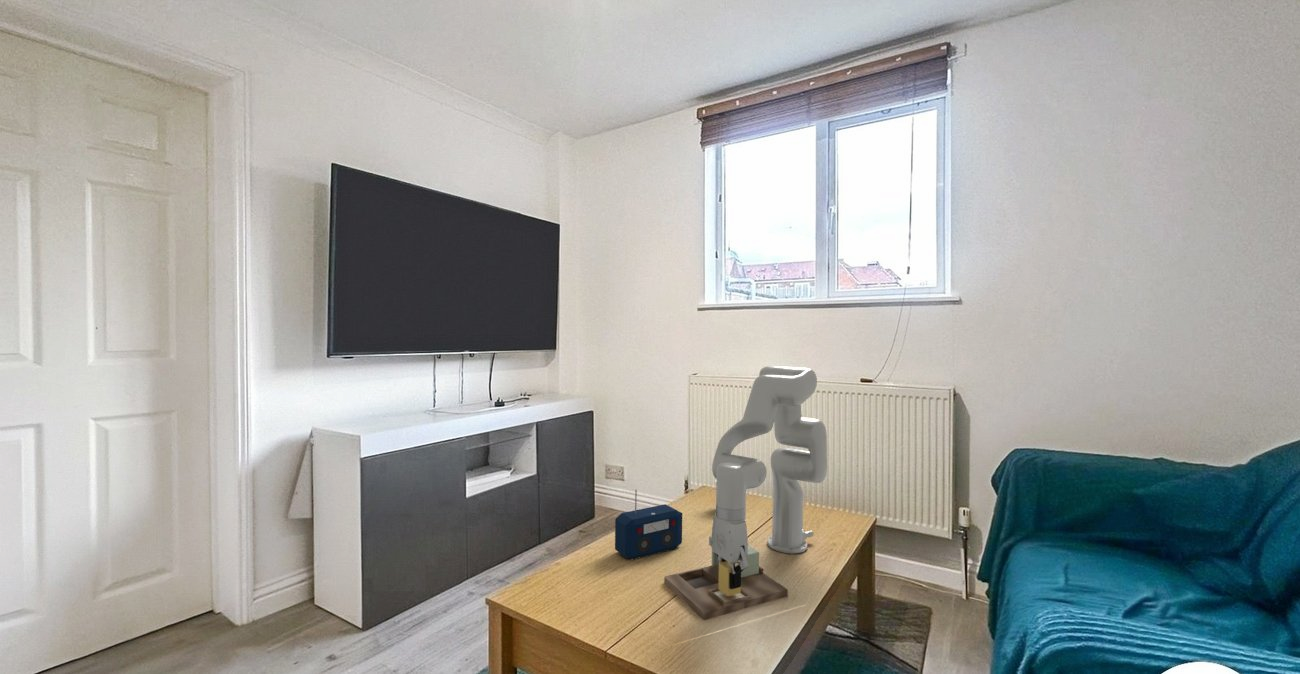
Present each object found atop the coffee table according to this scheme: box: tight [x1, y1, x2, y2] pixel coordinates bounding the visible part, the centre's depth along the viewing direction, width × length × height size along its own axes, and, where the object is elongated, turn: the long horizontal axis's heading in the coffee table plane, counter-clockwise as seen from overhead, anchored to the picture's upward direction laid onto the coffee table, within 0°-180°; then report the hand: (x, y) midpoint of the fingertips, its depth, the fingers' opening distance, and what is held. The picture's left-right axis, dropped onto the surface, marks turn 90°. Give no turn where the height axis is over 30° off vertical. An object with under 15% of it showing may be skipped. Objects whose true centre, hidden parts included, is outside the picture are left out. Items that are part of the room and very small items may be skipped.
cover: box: [708, 535, 760, 577], centre depth 147 cm, size 10×10×8 cm
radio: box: [614, 488, 683, 560], centre depth 164 cm, size 21×9×20 cm, turn 122°
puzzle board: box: [663, 564, 789, 621], centre depth 140 cm, size 26×20×3 cm
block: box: [718, 561, 741, 596], centre depth 133 cm, size 4×4×7 cm
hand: (729, 582), depth 133 cm, fingers closed on block, 3 cm apart
